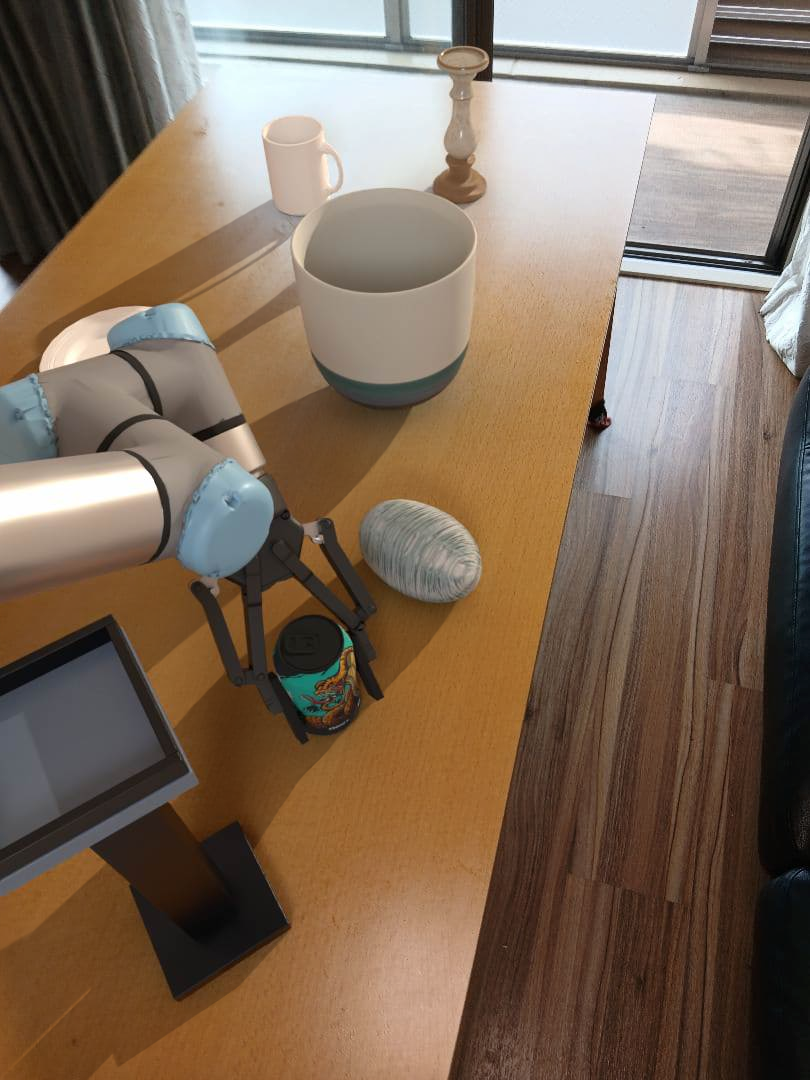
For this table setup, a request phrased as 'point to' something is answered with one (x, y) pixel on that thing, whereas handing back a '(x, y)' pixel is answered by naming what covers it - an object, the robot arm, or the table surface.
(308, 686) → the beverage can
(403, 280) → the planter
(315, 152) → the mug
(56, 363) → the plate
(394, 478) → the table surface
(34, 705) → the pad stand
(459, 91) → the candle holder
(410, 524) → the grey streaked ellipsoid
